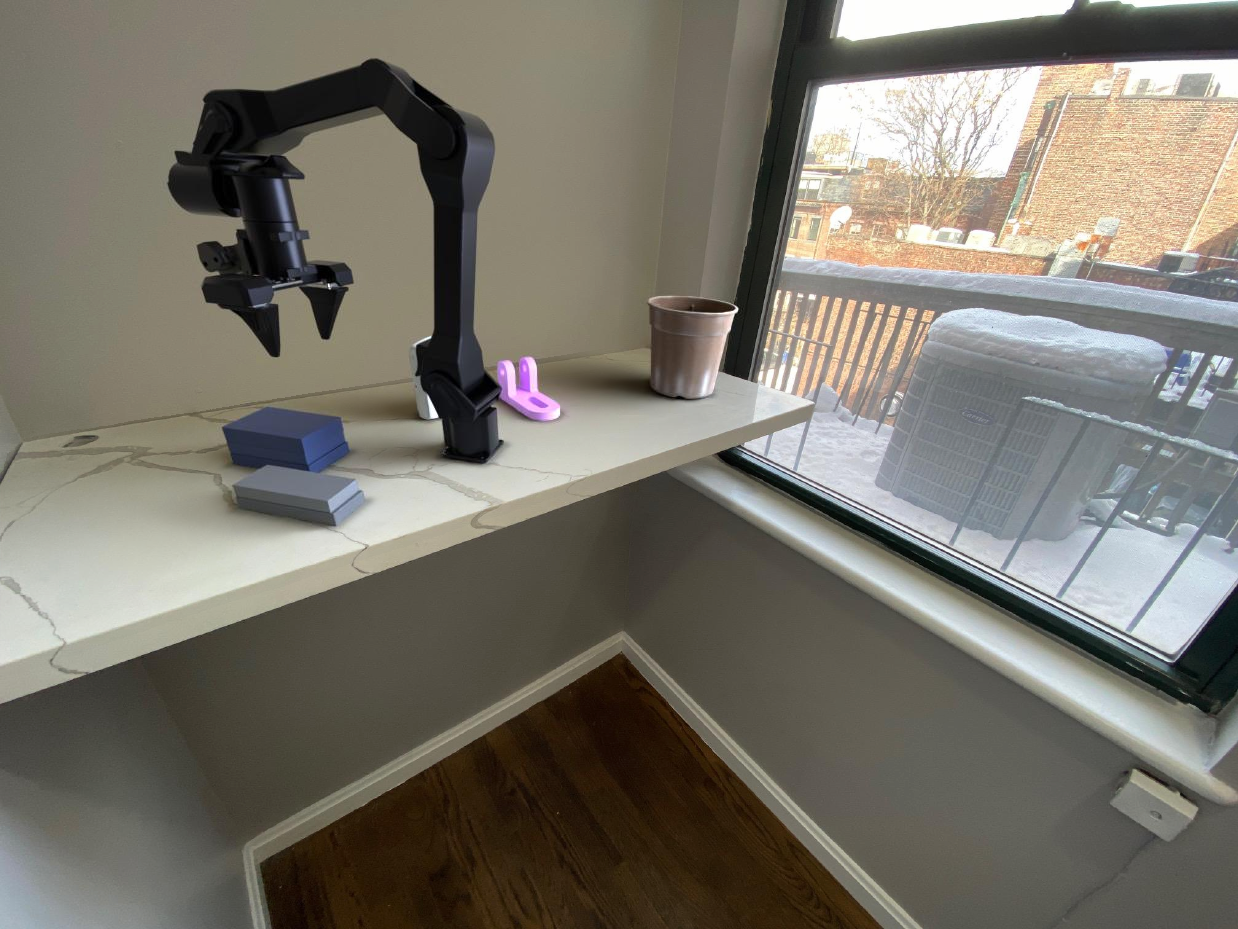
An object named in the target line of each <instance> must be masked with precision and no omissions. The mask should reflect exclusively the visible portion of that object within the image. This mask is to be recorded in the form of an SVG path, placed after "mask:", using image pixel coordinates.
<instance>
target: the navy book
mask: <svg viewBox="0 0 1238 929" xmlns="http://www.w3.org/2000/svg"><path fill="white" fill-rule="evenodd" d="M221 429H222V433H223V436H224V438H225V442H232V443H239V444H245V445H251V446H258V447H264V448H270V449H277V450H283V451H290V452H296V453H302V454H306V453H308V452H309V451H311V450H313V449H314V448H316V447H318V446H319V445H321V444H323V443H324V442H326V441H328V440H329V439H331V438H333V437H334V436H336V435H338V434H339V433H341V432H344V431H345V430H344V425H343V421H342V417H341V416H336V415H331V414H329V415H328V414H321V413H315V412H308V411H301V410H293V409H287V408H280V407H273V406H265V407H263V408H261V409H258V410H256V411H254V412H251V413H249V414H247V415H245V416H242V417H240V418H238V419H236V420H234V421H232V422H230V423H228V424H225V425H223V426H221Z"/></svg>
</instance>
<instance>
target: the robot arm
mask: <svg viewBox="0 0 1238 929" xmlns="http://www.w3.org/2000/svg"><path fill="white" fill-rule="evenodd" d="M202 102H203V108H202V110H201V114H200V118H199V122H198V126H197V130H196V133H195V138H194V140H193V143H192V145H193V146H192V149H191V151H188V150H187V151H186V150H174V151H173V152H174V156H175V160H176V162H175V163H174V164H173V165H172V166H171V168H170V169H169V170H168V171H169V172H168V176H167V177H168V178H167V179H168V180H167V182H166V184H167V188H168V191H169V193H170V196H171V197H172V199H173V200H174V202H175V203H176V204H177V205H178V206H179V207H180V208H181V209H183V210H184V211H186V212H188V213H190V214H193V215H199V216H210V217H224V218H233V219H234V218H237V219H238V218H241V220H242V224H243V228H236V229H235V230H236V232H235V237H236V243H235V244H231V245H223V244H221V243H220V242H219V241H217V240H211V241H209V240H208V241H203V242H200V243H198V244H196V249H197V254H198V259H199V261H200V263H201V264H202V266H203V268H204V270H205V271H206V272H208V273H217V272H218V274H216V275H210V276H205V277H204V278H203V280H202V282H201V284H200V288H201V291H202V295H203V298H204V301H205V303H206V304H214V305H217V307H219V308H220V309H222V310H229V311H231V312H232V313H234V314H235V315H237V316H238V317H239V318H240V319H241V320H242V321H243V322H244V323H245V324H246V325H247V327H248V328H249V329H250V331H251V332H252V333H253V335H254V336H255V337H256V339H257V340H258V341H259V343H260V344H261V345H262V346H263V349H265V351H266V352H267V354H268V355H269V356H270V357H271V358H280V357H281V346H282V345H281V330H280V328H281V327H280V310H279V304H278V303H272V301H273V298H274V296H275V292H278V291H283V290H288V289H292V288H293V289H294V288H298V289H299V290H300V292H302V293H303V295H304V296H306V298H307V299H308V300H309V304H310V306H311V311H312V314H313V317H314V322H315V325H316V328H317V331H318V334H319V336H320V338H321V339H322V340H324V341H325V340H326V341H328V340H330V339H331V336H332V332H333V330H334V326H335V323H336V320H337V317H338V313H339V311H340V308H341V306H342V303H343V300H344V298H345V295H346V293H347V292H349V289H350V288H349V285H354V284H355V282H354V276H353V272H352V269H351V268H350V267H349V265H347V264H346V263H345V262H341V261H332V260H331V261H330V260H323V259H321V260H319V259H314V260H307V255H306V251H305V246H304V243H303V241H305V240H310V239H311V238H310V233H309V230H307V229H300V228H301V227H300V225H299V220H298V216H297V211H296V207H295V202H294V198H293V193H292V189H291V183H290V180H301V181H303V180H305V178H306V176H305V174H304V173H303V172H302V171H301V170H300V169H299V168H298V167H296V166H295V165H294V164H293V163H292V162H290V160H289V159H288V157H287V156H285V155H284V154H287V153H289V152H290V151H292V150H294V149H295V148H297V147H299V146H300V145H301V143H302V142H303V141H304V139H305V138H306V137H308V136H309V135H311V134H314V133H318V132H322V131H325V130H329V129H333V128H336V127H337V128H338V127H340V126H345V125H348V124H352V123H356V122H359V121H364V120H367V119H371V118H375V117H379V116H382V115H383V116H384V115H385V116H386V117H387V119H388V120H389V121H390V123H392V124H393V125H394V128H396V129H397V130H398V131H399V132H401V133H402V134H403V135H404V136H405V137H407V138H408V139H410V140H411V141H412V142H413V143H415V144H416V150H417V156H418V163H419V169H420V173H421V175H422V178H423V180H424V183H425V186H426V188H427V190H428V193H429V196H430V198H431V201H432V208H433V211H432V212H433V331H432V334H431V335H430V336H431V338H430V339H427V340H425V341H423V342H421V343H419V344H417V345H416V357H417V364H418V365H417V371H416V373H415V376H416V377H418V376H420V383H421V387H422V390H423V391H424V392H426V393H427V394H428V396H429V398H430V400H431V402H432V404H433V406H434V409H435V411H436V413H437V415H438V418H439V420H441V426H442V435H443V444H444V447H445V449H444V450H443V451H442V453H441V456H442V457H444V458H449V459H456V460H462V461H468V462H469V461H470V462H475V463H482V464H483V463H487V462H489V461H490V460H491V459H492V457H493V456H494V455H495V454H496V453H497V452H498V451H499V450H500V449H501V448H502V447H503V445H505V440H504V439H500V438H499V437H500V436H499V421H498V420H499V419H498V408H497V407H495V406H493V405H494V404H495V403H496V402H498V401H500V399H501V398H500V395H501V392H502V387H501V386H500V385H499V384H498V381H497V380H495V378H494V377H493V376H492V375H491V374H490V373H489V372H488V371H487V370H486V369H485V366H484V357H483V349H482V347H481V345H480V343H479V341H478V339H477V335H476V334H475V329H474V325H475V301H476V300H475V299H476V296H475V295H476V270H477V269H476V265H477V241H478V240H477V239H478V238H477V237H478V212H479V207H480V205H481V202H482V200H483V198H484V195H485V193H486V190H487V188H488V185H489V183H490V180H491V174H492V169H493V163H494V159H495V155H496V154H495V153H496V142H495V137H494V134H493V132H492V131H491V130H490V128H489V127H488V125H487V123H486V122H485V121H484V120H483V119H482V118H481V117H479V116H478V115H476V114H473V113H471V112H467V111H464V110H461V109H458V108H455V107H454V106H453V105H451V104H450V103H448V102H447V101H446V100H444V99H443V98H441V97H440V96H439V95H436V94H435V93H434V92H432V91H431V90H430V89H428V88H427V87H425V86H424V85H422V84H421V83H420V82H419V81H417V80H416V79H415V78H414V77H413V76H411V75H410V74H409V73H408V72H407V70H406V69H405V68H404V67H403V68H402V67H400V66H398V65H396V64H393V63H391V62H388V61H386V60H383V59H380V58H378V57H374V58H373V57H371V58H369V59H366V60H365V61H362V63H361V64H359V65H358V64H357V65H355V66H351V67H348V68H345V69H342V70H338V71H335V72H331V73H328V74H325V75H321V76H318V77H314V78H311V79H308V80H304V81H301V82H300V81H299V82H297V83H294V84H291V85H290V84H289V85H288V86H284V87H281V88H280V87H279V88H277V89H269V90H268V89H267V90H265V89H263V90H262V89H249V88H248V89H247V88H221V89H220V88H219V89H210V90H209V91H208V92H207V91H206V93H204V96H203V97H202Z"/></svg>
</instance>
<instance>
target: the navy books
mask: <svg viewBox="0 0 1238 929" xmlns="http://www.w3.org/2000/svg"><path fill="white" fill-rule="evenodd" d="M225 442H226V445H227V449H228V451H229V457H230V459H231V462H232V465H234V466H241V467H246V468H252V469H257V470H259V469H261V468H262V467H264V466H266V465H272V466H278V467H284V468H291V469H297V470H303V471H309V472H315V473H320V472H322V471H324V470H325V469H327V468H328V467H329V466H331V465H333V464H334V463H336V462H337V461H339V460H340V459H342V458H344V457H345V456H346V455H348V454H349V453H350V452H351V450H350V447H349V442H348V441H346V437H345V433H344V431H343V432H341V433H339V434H338V435H336V436H334V437H333V438H331V439H329V440H328V441H326V442H324V443H323V444H321V445H319V446H318V447H316V448H314V449H313V450H311V451H309V452H308V453H306V454H302V453H296V452H290V451H283V450H277V449H270V448H264V447H258V446H251V445H245V444H239V443H232V442H227V441H225Z"/></svg>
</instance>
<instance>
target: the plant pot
mask: <svg viewBox="0 0 1238 929" xmlns="http://www.w3.org/2000/svg"><path fill="white" fill-rule="evenodd" d="M646 304H647V305H648V312H649V315H648V317H649V320H648V322H649V325H650V382H649V383H650V387H651V389H652V390H654V391H656V393H658V394H661V395H664V396H667V397H671V398H676V397H679V396H680V397H682V398H684V399H686V400H687V399H690V400H691V399H703V398H706V397H708V396H711V395H712V394H713V393H714V389H715V384H716V380H717V376H718V373H719V368H720V364H721V360H722V358H723V352H724V349H725V345H726V342H727V337H728V333H730V332H731V329H732V325H733V321H734V317H735V314H737V313H738V311H739V307H738V306H737V305H735V304H732V303H731V302H727V301H723V300H718V299H712V298H708V297H700V296H691V295H657V296H652V297H649V298H648V299H647V300H646Z"/></svg>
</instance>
